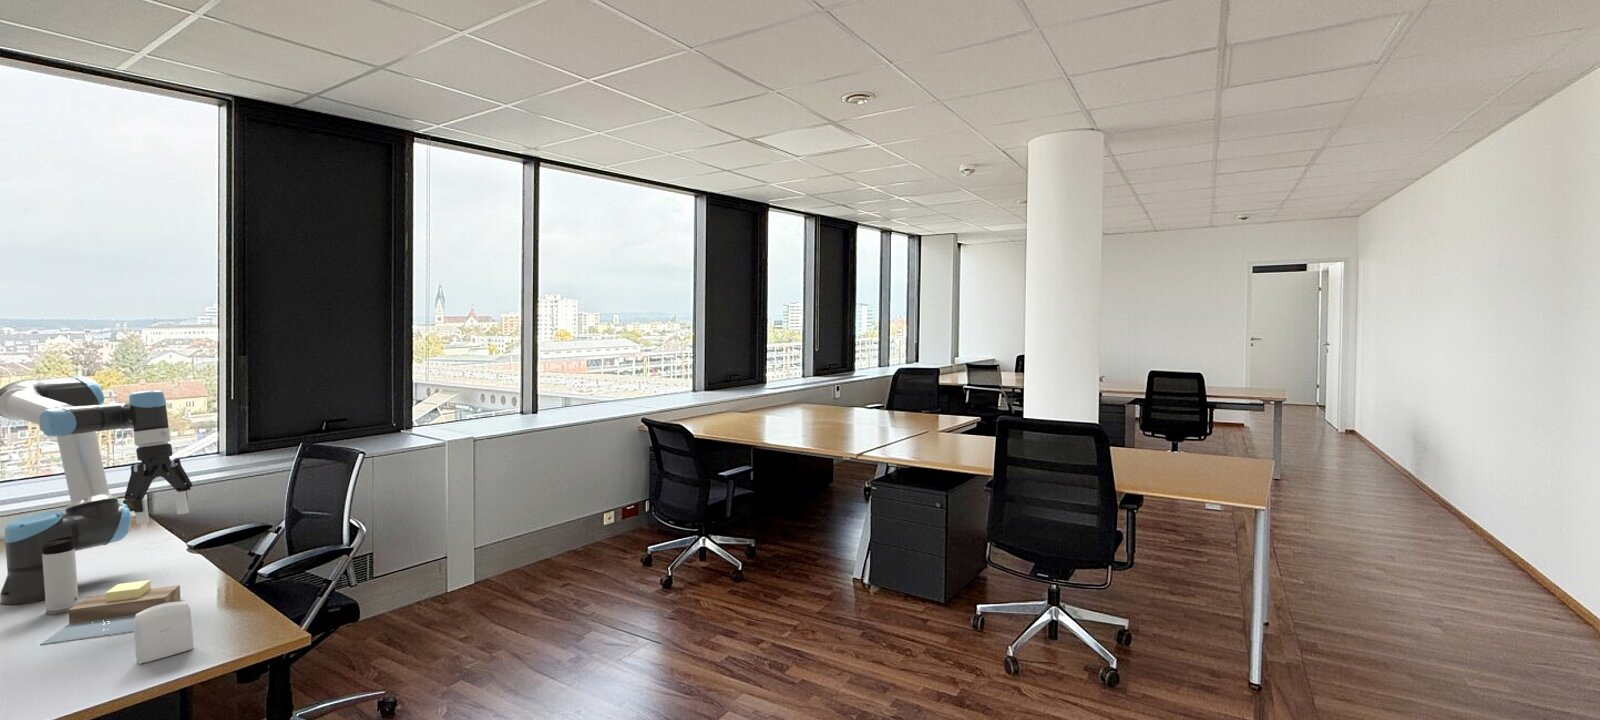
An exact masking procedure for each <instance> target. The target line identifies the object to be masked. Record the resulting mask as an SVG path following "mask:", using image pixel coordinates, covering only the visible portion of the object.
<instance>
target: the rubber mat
mask: <svg viewBox="0 0 1600 720" xmlns="http://www.w3.org/2000/svg"><path fill="white" fill-rule="evenodd" d="M134 619H135V615H130V616H123V617H115V618H108V619H100V620H93V621H86V622H78V623H71V624H69V623H68V624H67V625H65V626H64V627H63V628H61V629H60V630H58V631H57V632H55V633H54V634H53V635H51V636H50V637H48V638H47V639H45V640H44V641H42V642H41V643H40V645H39V646H44V645H45V646H46V645H51V644H59V643H65V641H67V642H71V640H74V641H78V640H77V639H81V640H85V639H84V638H88V639H92V638H91V637H95V638H98V637H97V636H102V635H109V636H111V635H110V634H116V635H120V634H119V633H123V634H127V633H126V632H130V633H134ZM103 620H104V621H103ZM107 621H110V622H107ZM92 622H93V623H92ZM103 622H105V625H103V624H104V623H103ZM108 623H110V624H108ZM103 629H105V630H104V631H103ZM107 629H108V630H107ZM117 633H118V634H117ZM102 637H103V636H102Z"/></svg>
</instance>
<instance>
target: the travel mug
mask: <svg viewBox="0 0 1600 720" xmlns="http://www.w3.org/2000/svg"><path fill="white" fill-rule="evenodd" d="M74 538H75V536H68V537H63V538H58V539H54V540H51V541H48V542H46V543H44V544H42V550H43V551H42V555H43V557H42V559H43V573H44V587H45V600H44V601H45V607H46V608H45V612H46V614H48V615H59V614H64V612H65V613H68V610H69V609H70V608H72V607H73V606H75V605H76V604H78V603H79V589H78V575H77V561H76V559H77V558H76V551H74V550H75V548H74Z"/></svg>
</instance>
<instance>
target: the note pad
mask: <svg viewBox="0 0 1600 720" xmlns="http://www.w3.org/2000/svg"><path fill="white" fill-rule="evenodd" d="M150 589H152V587H151V580H150V579H148V580H141V581H133V582H124V583H118V584H115V586H113V587H112V588H110V589H108V590H107V591H106V592H105V594H106V602H108V601H116V600H124V599H132V598H139V597H141V596H142V595H143V594H145V593H146V592H147V591H149V590H150Z"/></svg>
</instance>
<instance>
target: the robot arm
mask: <svg viewBox="0 0 1600 720" xmlns="http://www.w3.org/2000/svg"><path fill="white" fill-rule="evenodd" d="M167 409H168V408H167V401H166V397H165V394H164V392H163V391H162V390H146V391H145V390H144V391H137V392H135V391H134V392H132V393H130V394H129V395H128V401H126V402H115V403H105V395H104V392H103V389H102V388H101V385H100V384H99V383H98V382H97V381H95V380H94V379H93V378H92V377H87V376H66V377H54V378H53V377H52V378H37V379H23V380H22V379H21V380H18V381H13V382H11V383H9V384H6V385H5V386H3V387H1V388H0V417H3V418H5V419H8V420H12V421H26V422H29V423H31V424H36V425H38V426H39V428H40V430H41V432H42V433H43V434H44V435H45V436H47V437H56V440H57V444H58V449H59V453H60V458H61V462H62V466H63V472H64V475H65V476H64V477H65V480H66V485H67V489H68V494H69V499H70V503H69V504H68V505H67V506H66V507H65V508H64V509H65V514H64V513H63V512H62V511H60V510H49V511H43V512H38V513H33V514H30V515H26V516H23V517H20V518H18V519H15V520H13V521H11V522H9V523H8V524H7V525H6V526H5V529H4V538H3V542H4V544H5V545H4V547H5V557H6V569H7V570H6V571H7V576H6V577H5V581H4V583H3V585H2V588H1V591H0V603H1V604H3V605H19V604H18V603H22V604H28V602H29V603H34V602H33V601H35V602H39V601H38V600H40V601H44V600H43V599H45V587H44V573H43V559H42V557H43V555H42V551H43V550H42V544H44V543H46V542H48V541H51V540H54V539H58V538H63V537H68V536H75V538H74V548H75V550H74V551H75V552H77V551H81V550H82V551H83V550H86V549H92V548H96V547H100V546H107V545H109V544H112V543H116V542H119V541H122V540H123V539H124V538H126V536H127V535H128V533H129V531H130V528H131V525H132V523H131V522H132V515H131V510H130V508H129V506H128V504H126V503H121V502H120V503H119V501H118V497H117V496H115V495H112V494H110V490H109V484H108V482H107V477H106V473H105V469H104V464H103V460H102V456H101V451H100V446H99V442H98V438H97V433H96V432H102V431H103V432H104V431H114V430H128V429H129V430H130V429H132V431H133V438H134V445H135V446H136V447H137V448H136V450H135V451H136V452H135V453H136V457H137V460H138V461H141V463H137V464H132V465H131V466H130V476H129V480H128V484H127V486H126V490H125V493H124V497H123V498H124V500H125V501H128V502H129V503H131V502H132V507H133V512H134V513H135V520H136V525H142V524H143V525H144V524H149V523H150V516H149V508H148V507H149V506H148V502H147V499H146V498H145V496H146V494H147V492H148V490H149V488H150V486H151V484H152V482H153V481H154V480H155V479H156V478H163V479H164V480H166V482H167V483H168V484H169V485H170V486H171V487H172V488H173V489H174V491H175V492H174V493H173V494H174V501H175V509H176V514H177V515H183V514H188V513H190V511H189V505H188V501H189V499H188V491H191V488H192V487H193V483H192V482H191V479H190V478H189V476H188V475H187V473H186V471H185V469H184V467H183V466H182V463H181V459H180V458H179V457H176V458H170V457H172V456H173V449H172V447H173V446H172V444H171V443H169V442H171V435H170V434H171V433H170V426H169V418H168V410H167ZM144 498H145V499H144Z"/></svg>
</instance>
